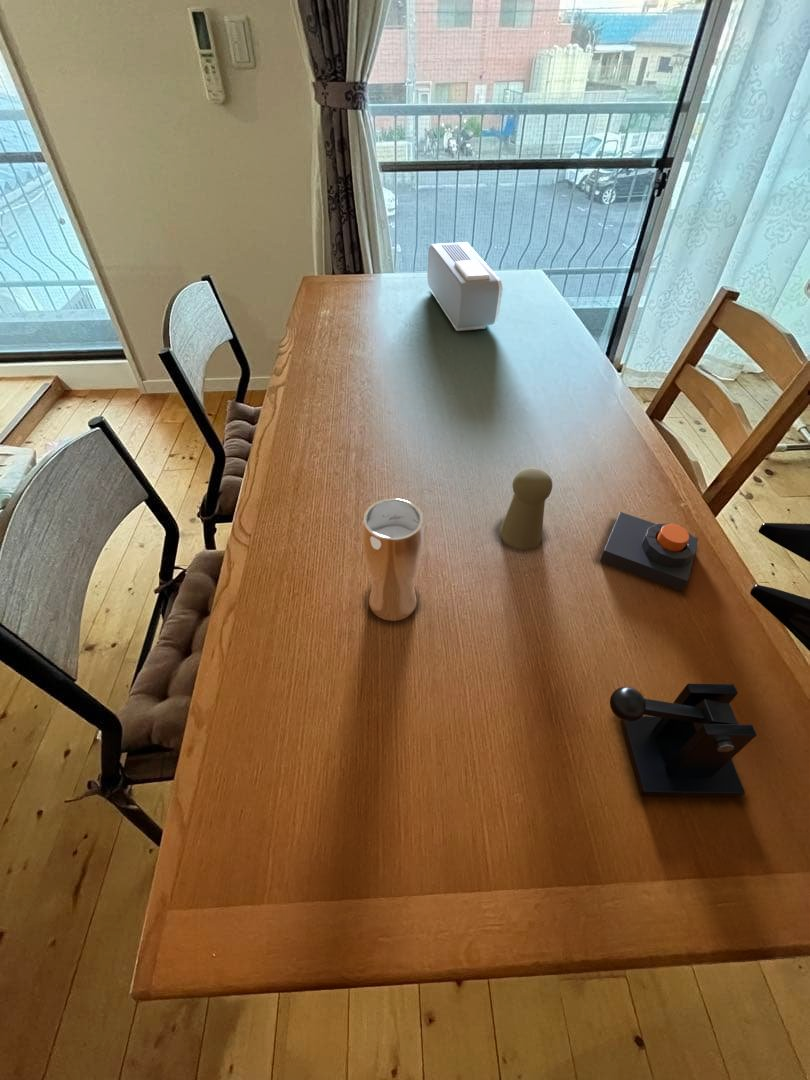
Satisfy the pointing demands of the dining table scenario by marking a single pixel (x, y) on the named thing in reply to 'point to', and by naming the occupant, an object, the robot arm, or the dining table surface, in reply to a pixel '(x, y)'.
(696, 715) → the switch
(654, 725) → the switch bracket
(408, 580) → the beer glass
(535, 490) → the olive game pawn
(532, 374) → the dining table surface
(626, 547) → the button box
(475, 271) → the alarm clock
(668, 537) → the button
